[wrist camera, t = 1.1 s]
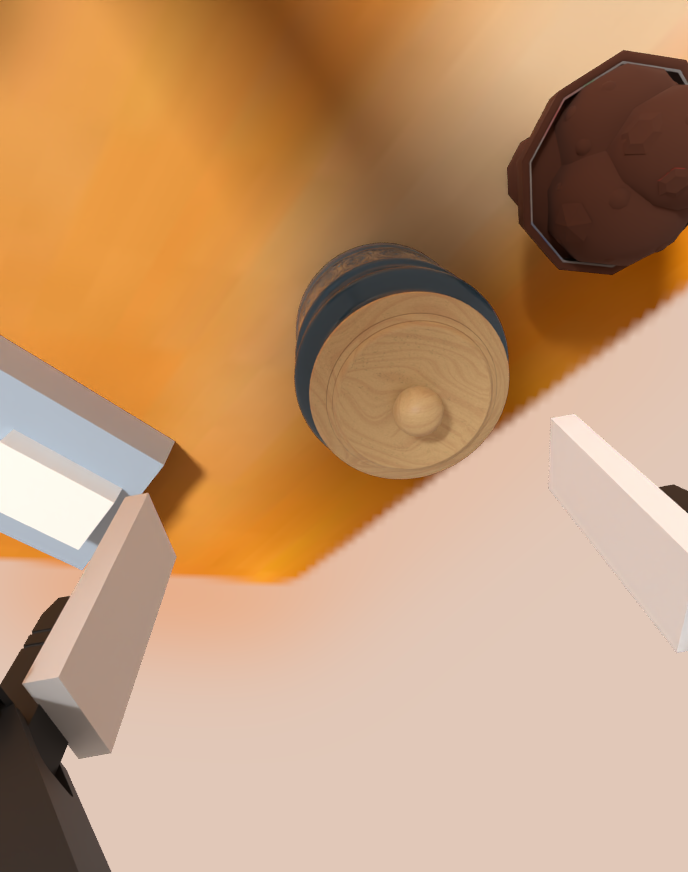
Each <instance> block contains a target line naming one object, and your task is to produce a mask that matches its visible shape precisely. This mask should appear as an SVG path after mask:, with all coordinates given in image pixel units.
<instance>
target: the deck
mask: <svg viewBox="0 0 688 872" xmlns="http://www.w3.org/2000/svg"><path fill="white" fill-rule="evenodd" d="M13 429H14V430H16V431H18V432H20V433H22V434H23V435H25V436H27V437H29V438H31V439H33V440H34V441H36V442H38V443H40V444H42V445H44V446H45V447H47V448H49V449H51V450H53V451H55V452H56V453H58V454H60V455H62V456H64V457H66V458H67V459H69V460H71V461H73V462H75V463H77V464H78V465H80V466H82V467H84V468H86V469H88V470H89V471H91V472H93V473H95V474H97V475H99V476H100V477H102V478H104V479H106V480H108V481H110V482H111V483H113V484H115V485H117V486H119V487H121V488H122V490H121V492H120V494H119V495H118V497H117V499H116V501H115V502H114V504H113V505H112V506H111V508H110V509H109V510H108V512H107V513H106V514H105V516H104V517H103V518H102V520H101V521H100V522H99V524H98V525H97V526H96V528H95V529H94V530H93V532H92V533H91V534H90V535H89V537H88V538H87V539H86V541H85V542H84V543H83V545H82V546H81V547H80V549H79V550H77V549H75V548H73V547H71V546H69V545H67V544H65V543H63V542H61V541H59V540H57V539H55V538H52V537H50V536H48V535H46V534H44V533H42V532H40V531H38V530H36V529H34V528H32V527H30V526H28V525H25V524H23V523H21V522H19V521H17V520H15V519H13V518H11V517H9V516H7V515H5V514H3V513H1V512H0V532H1V533H3V534H6V535H8V536H10V537H12V538H14V539H16V540H18V541H21V542H23V543H25V544H27V545H29V546H31V547H33V548H35V549H38V550H40V551H42V552H44V553H46V554H48V555H50V556H53V557H55V558H57V559H59V560H61V561H63V562H65V563H68V564H70V565H72V566H74V567H76V568H78V569H80V570H83V569H84V567H85V566H86V565H87V563H88V562H89V561H90V560H91V558H92V556H93V554H94V552H95V551H96V549H97V547H98V545H99V543H100V542H101V540H102V538H103V536H104V534H105V533H106V531H107V529H108V527H109V525H110V524H111V522H112V520H113V518H114V516H115V514H116V513H117V511H118V509H119V507H120V505H121V504H122V502H123V500H124V498H125V497H128V496H133V495H139V494H142V493H143V492H144V490H145V489H146V488H147V486H148V485H149V484H150V483H151V481H152V480H153V479H154V477H155V476H156V475H157V474H158V472H159V471H160V470H161V468H162V467H163V466H164V464H165V462H166V460H167V458H168V456H169V453H170V451H171V449H172V447H173V445H174V443H175V441H174V440H172V439H170V438H169V437H167V436H165V435H164V434H162V433H160V432H159V431H157V430H155V429H154V428H152V427H150V426H149V425H147V424H146V423H144V422H142V421H141V420H139V419H137V418H136V417H134V416H132V415H131V414H129V413H127V412H126V411H124V410H123V409H121V408H119V407H118V406H116V405H114V404H113V403H111V402H109V401H108V400H106V399H104V398H103V397H101V396H99V395H98V394H96V393H95V392H93V391H91V390H90V389H88V388H86V387H85V386H83V385H81V384H80V383H78V382H76V381H75V380H73V379H72V378H70V377H68V376H67V375H65V374H63V373H62V372H60V371H58V370H57V369H55V368H53V367H52V366H50V365H48V364H47V363H45V362H44V361H42V360H40V359H39V358H37V357H35V356H34V355H32V354H30V353H29V352H27V351H25V350H24V349H22V348H21V347H19V346H17V345H16V344H14V343H12V342H11V341H9V340H7V339H6V338H4V337H2V336H1V335H0V441H1V440H2V439H3V438H4V437H5V436H6V435H7V434H9V433H10V432H11V431H12V430H13Z"/></svg>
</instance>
